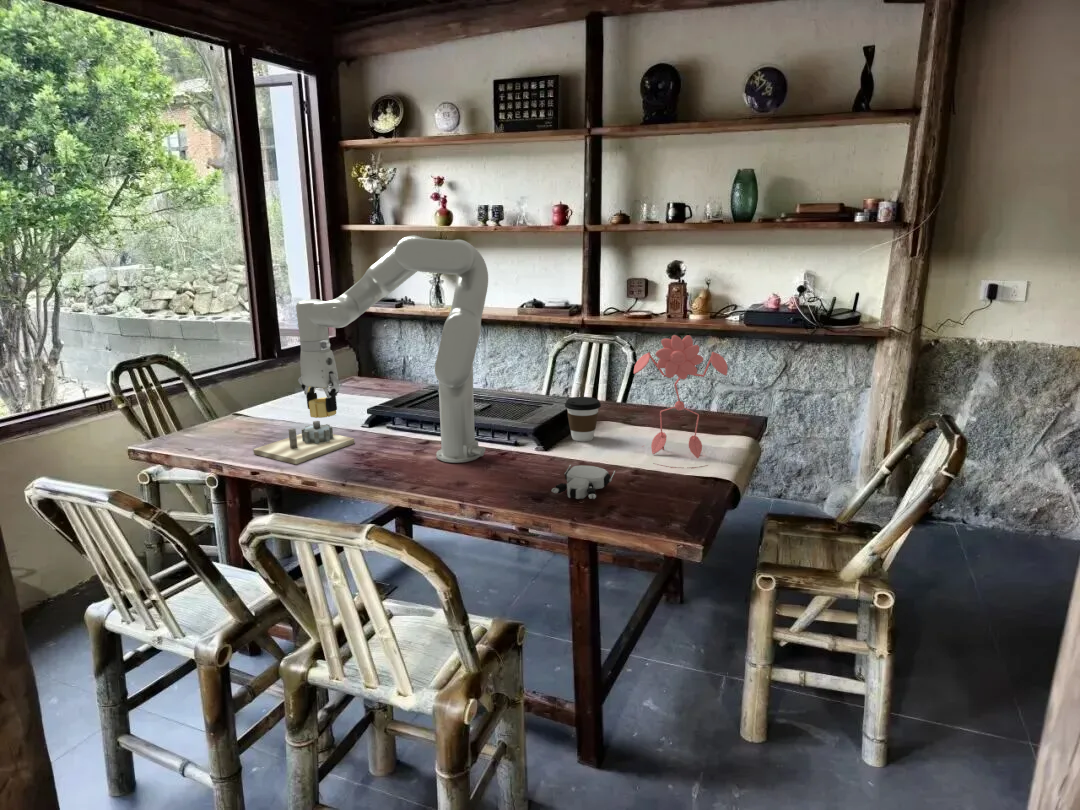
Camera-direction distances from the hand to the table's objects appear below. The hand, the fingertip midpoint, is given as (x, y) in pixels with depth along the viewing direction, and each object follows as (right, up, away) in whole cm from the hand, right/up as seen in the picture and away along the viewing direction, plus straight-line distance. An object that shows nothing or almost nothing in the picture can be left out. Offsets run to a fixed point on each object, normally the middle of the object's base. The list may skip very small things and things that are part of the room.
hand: (322, 408), depth 193 cm
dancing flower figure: (+98, -14, +2) cm, 99 cm away
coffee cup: (+73, -9, +21) cm, 77 cm away
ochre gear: (0, -1, +1) cm, 2 cm away
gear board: (-9, -12, +14) cm, 20 cm away
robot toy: (+71, -21, -21) cm, 77 cm away
